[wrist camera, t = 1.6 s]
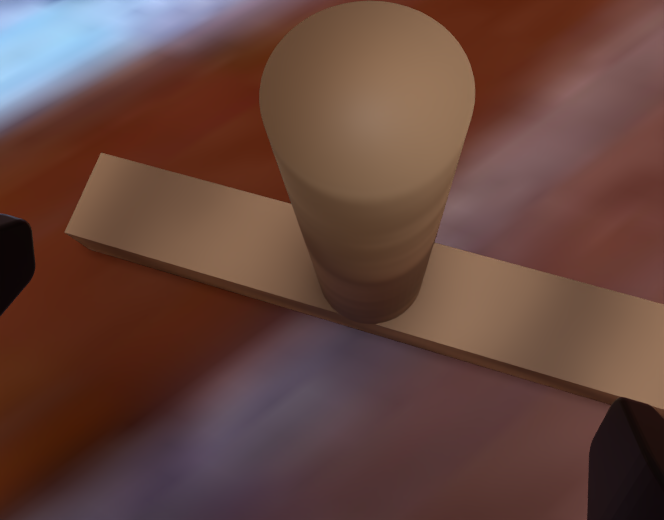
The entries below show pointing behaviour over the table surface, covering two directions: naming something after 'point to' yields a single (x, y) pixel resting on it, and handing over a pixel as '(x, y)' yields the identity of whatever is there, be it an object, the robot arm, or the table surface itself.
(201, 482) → the table surface
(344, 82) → the wooden bar with post
